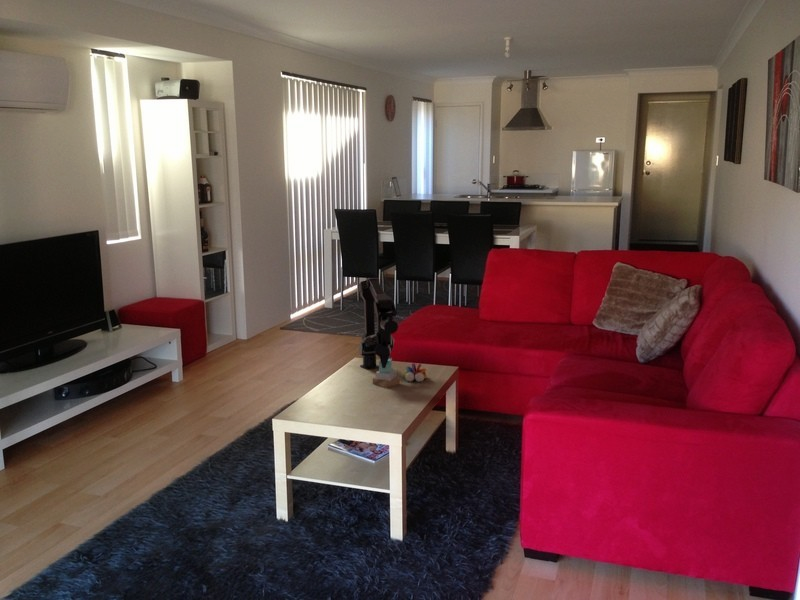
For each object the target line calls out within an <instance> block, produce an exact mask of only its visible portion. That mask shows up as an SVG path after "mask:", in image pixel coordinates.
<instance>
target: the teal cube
mask: <svg viewBox="0 0 800 600" xmlns="http://www.w3.org/2000/svg"><path fill="white" fill-rule="evenodd" d="M378 366H379V367H378V371H379V373H391V371H392V369H393V357H389V359H388V362H387V364H386V367H385V368H382V364H381V361H380V358H379V359H378Z"/></svg>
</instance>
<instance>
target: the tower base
mask: <svg viewBox="0 0 800 600" xmlns="http://www.w3.org/2000/svg"><path fill="white" fill-rule="evenodd" d="M400 381H401V380H400V377H399V376H397V377H396V378H394V379H393V380H391V381H385V380H377V379H376V376H375V377H373V378H372V385H375V386H378V387H381V388H384V389H385V388H386V389H387V388H390V387H394V386H397V385H400V384H399V383H400Z"/></svg>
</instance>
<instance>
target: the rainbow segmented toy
mask: <svg viewBox="0 0 800 600" xmlns="http://www.w3.org/2000/svg"><path fill="white" fill-rule="evenodd" d="M421 366H422V364H421V363H419V364H418V366H417V367H416V363H414V362H413V363H412V364H411V366H409V365H408V366H406V367H405V369H406V372H404V374H403V376H404V378H405V380H406V381H407V382H413V381H414V380H415V381H416V382H418V383H421V382H423V381H424V380H425V379H427V377H428V376H427V372H426V371H427V368H425V367H424V368H421Z"/></svg>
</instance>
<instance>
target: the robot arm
mask: <svg viewBox="0 0 800 600" xmlns="http://www.w3.org/2000/svg"><path fill="white" fill-rule="evenodd" d="M358 292H359V295H360V297H361V299H362V300H363V315H364V316H363V317H364V333H363V335H362V336H361V338H360V339H361V342H360V344H359V347H358V354H359V355H360V356H362V364H360V365H359V366H360V368H363V369H365V370H370V369H375V368H379V364H378V365H377V357H379V359H380V361H381V364H382V368H385V367H386V364H387V362H388V359H389V358H391V357H390V356H391V354H392V352H393V348H394V345H395V338H394V337H393V336H392V335H393V334H395V333H397V332H398V329H399V325H398V323H397V321H395V320H394V317H396V316H397V309H396V306H395V305H396V304H395V303H394V301H393V300H392V298H391V297H390V296H389V295H387V294H385V292H384V290H383V288H382V286H381V283H380V279H379V278H378V277H369V278H367V279H365V280H363V281H360V282H359V283H358ZM375 316H376V319H375ZM375 320H377V323H376V324H377V327H375V326H376V325H375V322H376V321H375ZM376 328H377V332H376Z"/></svg>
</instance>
